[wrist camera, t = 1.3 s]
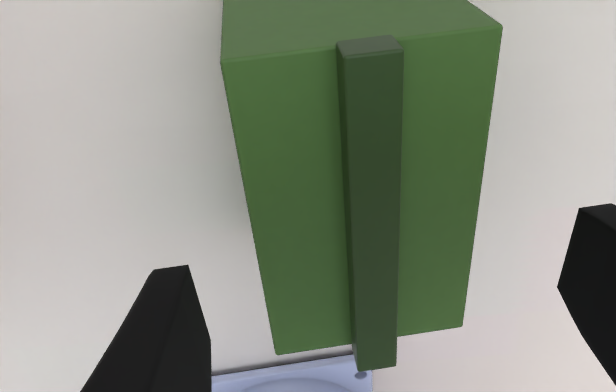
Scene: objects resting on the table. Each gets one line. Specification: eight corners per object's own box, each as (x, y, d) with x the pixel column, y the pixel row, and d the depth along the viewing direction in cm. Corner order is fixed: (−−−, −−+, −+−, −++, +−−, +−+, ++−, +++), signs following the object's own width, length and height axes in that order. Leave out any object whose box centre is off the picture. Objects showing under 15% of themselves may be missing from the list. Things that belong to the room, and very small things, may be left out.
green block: (408, 213, 18) (474, 354, 13) (265, 233, 18) (278, 385, 13) (417, -41, 13) (526, 33, 8) (222, -17, 13) (217, 72, 8)
